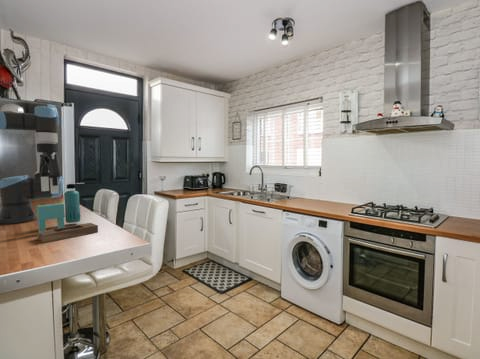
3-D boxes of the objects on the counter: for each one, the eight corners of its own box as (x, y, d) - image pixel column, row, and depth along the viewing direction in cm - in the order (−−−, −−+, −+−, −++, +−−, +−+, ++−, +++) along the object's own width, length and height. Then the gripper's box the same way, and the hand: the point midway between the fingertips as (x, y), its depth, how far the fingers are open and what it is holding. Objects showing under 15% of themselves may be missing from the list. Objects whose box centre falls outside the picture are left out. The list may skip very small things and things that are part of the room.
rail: (37, 238, 109) (37, 231, 109) (90, 229, 124) (90, 222, 124) (43, 242, 104) (43, 235, 103) (98, 232, 119) (97, 225, 119)
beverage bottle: (68, 226, 128) (66, 184, 127) (63, 224, 132) (61, 184, 131) (83, 224, 134) (81, 183, 132) (77, 222, 138) (75, 183, 136)
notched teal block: (38, 233, 117) (36, 206, 116) (63, 229, 124) (61, 203, 123) (40, 234, 115) (38, 206, 114) (65, 230, 122) (63, 204, 121)
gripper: (29, 144, 122) (31, 190, 123) (45, 141, 105) (48, 195, 107) (48, 144, 127) (51, 189, 129) (67, 142, 111) (69, 193, 113)
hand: (50, 192), depth 118 cm, fingers open, 13 cm apart
